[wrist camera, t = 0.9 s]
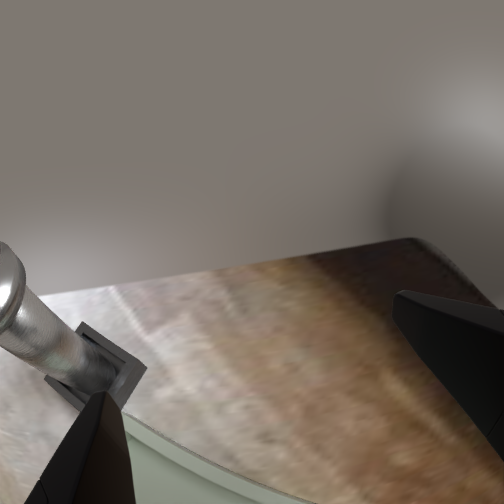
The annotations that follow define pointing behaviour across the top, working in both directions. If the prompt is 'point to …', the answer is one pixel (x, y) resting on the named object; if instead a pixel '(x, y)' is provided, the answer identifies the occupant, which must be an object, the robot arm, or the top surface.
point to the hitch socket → (124, 366)
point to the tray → (187, 474)
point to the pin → (45, 334)
